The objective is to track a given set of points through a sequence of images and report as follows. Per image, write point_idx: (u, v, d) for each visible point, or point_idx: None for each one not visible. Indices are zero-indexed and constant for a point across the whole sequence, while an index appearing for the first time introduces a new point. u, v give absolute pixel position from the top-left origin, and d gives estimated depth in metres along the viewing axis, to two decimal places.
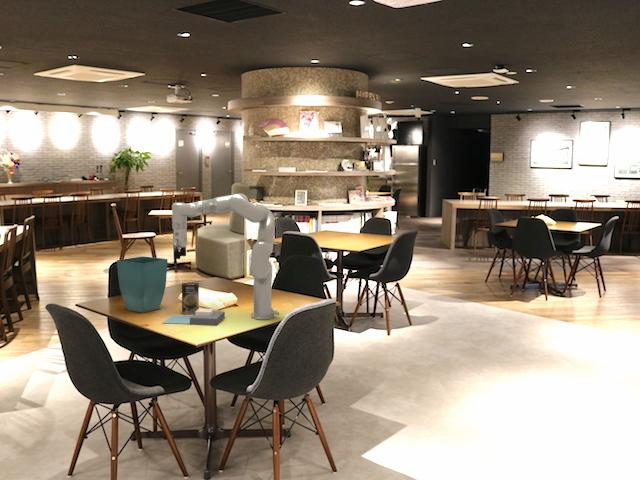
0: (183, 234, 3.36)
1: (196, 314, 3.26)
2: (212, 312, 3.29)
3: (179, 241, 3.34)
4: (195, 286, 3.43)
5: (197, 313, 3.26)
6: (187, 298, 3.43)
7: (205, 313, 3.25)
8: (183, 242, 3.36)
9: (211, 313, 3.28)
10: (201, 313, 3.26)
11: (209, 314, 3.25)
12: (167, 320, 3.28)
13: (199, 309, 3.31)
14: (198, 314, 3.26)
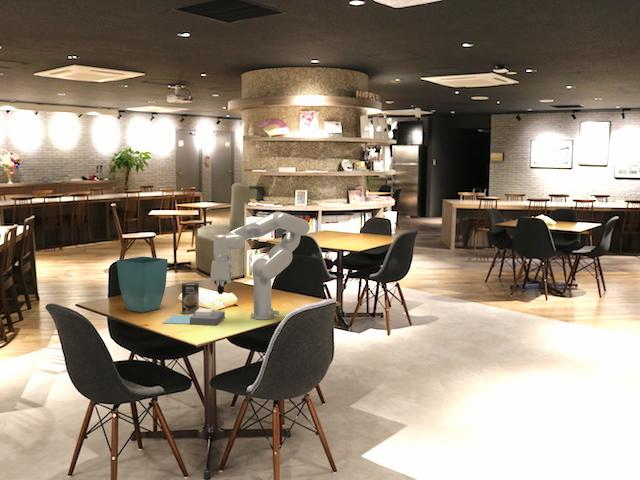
0: None
1: (196, 314, 3.26)
2: (212, 312, 3.29)
3: (229, 278, 3.27)
4: (195, 286, 3.43)
5: (197, 313, 3.26)
6: (187, 298, 3.43)
7: (205, 313, 3.25)
8: None
9: (211, 313, 3.28)
10: (201, 313, 3.26)
11: (209, 314, 3.25)
12: (167, 320, 3.28)
13: (199, 309, 3.31)
14: (198, 314, 3.26)
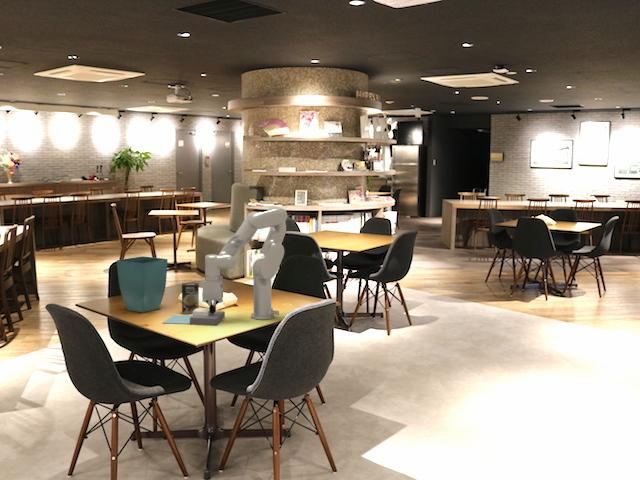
0: None
1: (193, 314, 3.26)
2: (209, 312, 3.29)
3: (221, 297, 3.29)
4: (195, 286, 3.43)
5: (194, 313, 3.26)
6: (187, 298, 3.43)
7: (202, 313, 3.26)
8: None
9: (209, 313, 3.28)
10: (198, 313, 3.26)
11: (206, 314, 3.26)
12: (167, 320, 3.28)
13: (196, 309, 3.31)
14: (195, 314, 3.26)
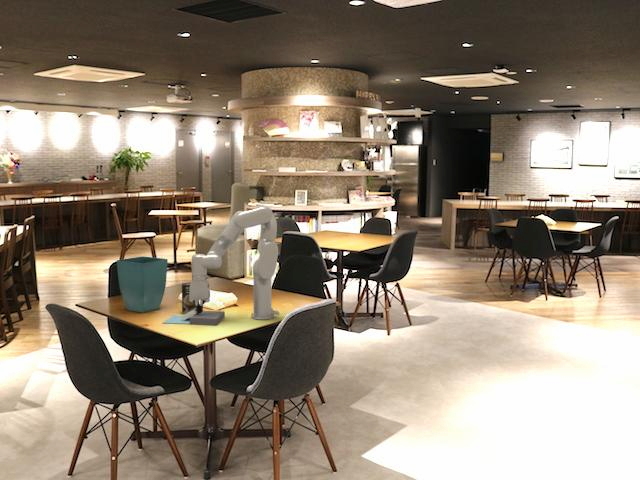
0: None
1: (183, 319, 3.28)
2: None
3: None
4: None
5: (183, 317, 3.28)
6: (187, 298, 3.43)
7: (190, 313, 3.27)
8: None
9: None
10: (187, 315, 3.27)
11: (194, 312, 3.27)
12: (167, 320, 3.28)
13: (185, 314, 3.32)
14: (185, 318, 3.27)
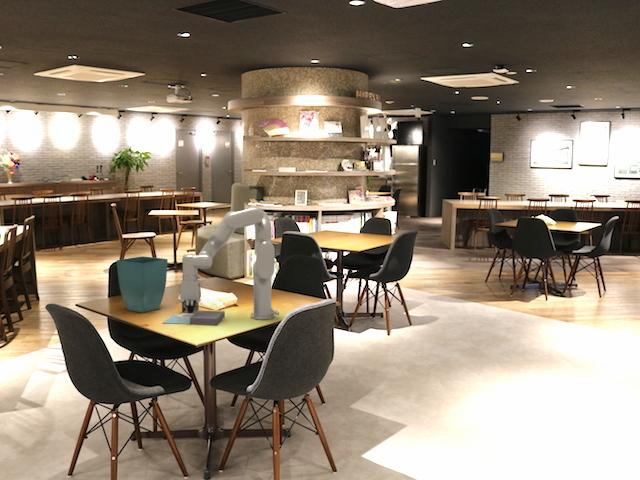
0: None
1: (178, 319, 3.28)
2: None
3: None
4: None
5: (179, 318, 3.28)
6: None
7: (187, 318, 3.27)
8: None
9: None
10: (183, 318, 3.28)
11: None
12: (167, 320, 3.28)
13: (181, 314, 3.32)
14: (180, 319, 3.28)
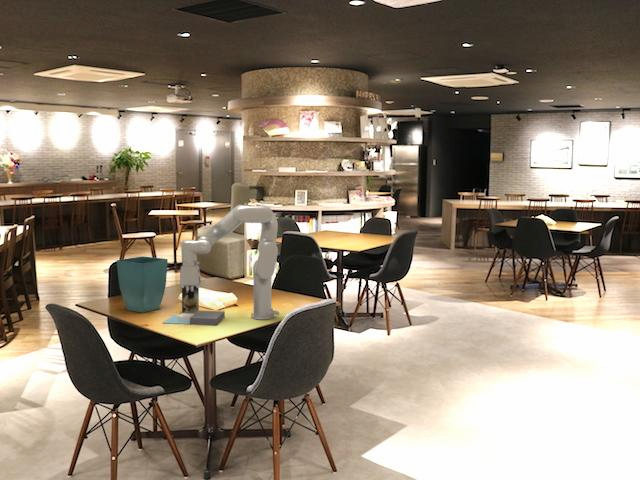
0: None
1: (178, 319, 3.28)
2: None
3: None
4: None
5: (179, 318, 3.28)
6: (187, 298, 3.43)
7: (187, 318, 3.27)
8: None
9: None
10: (183, 318, 3.28)
11: None
12: (167, 320, 3.28)
13: (181, 314, 3.32)
14: (180, 319, 3.28)
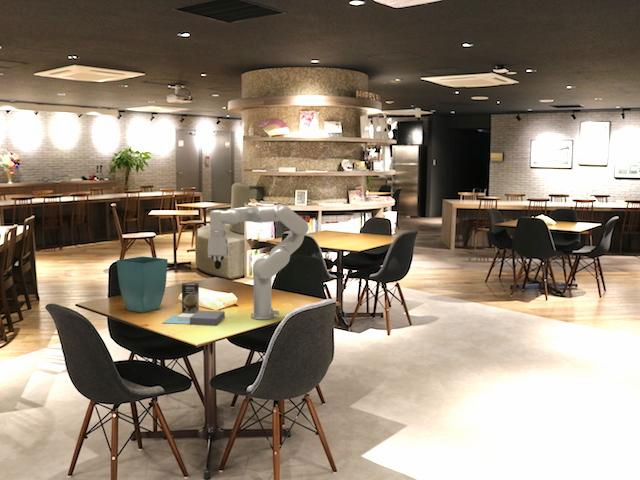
0: None
1: (178, 319, 3.28)
2: None
3: (226, 253, 3.30)
4: (195, 286, 3.43)
5: (179, 318, 3.28)
6: (187, 298, 3.43)
7: (187, 318, 3.27)
8: None
9: None
10: (183, 318, 3.28)
11: None
12: (167, 320, 3.28)
13: (181, 314, 3.32)
14: (180, 319, 3.28)
